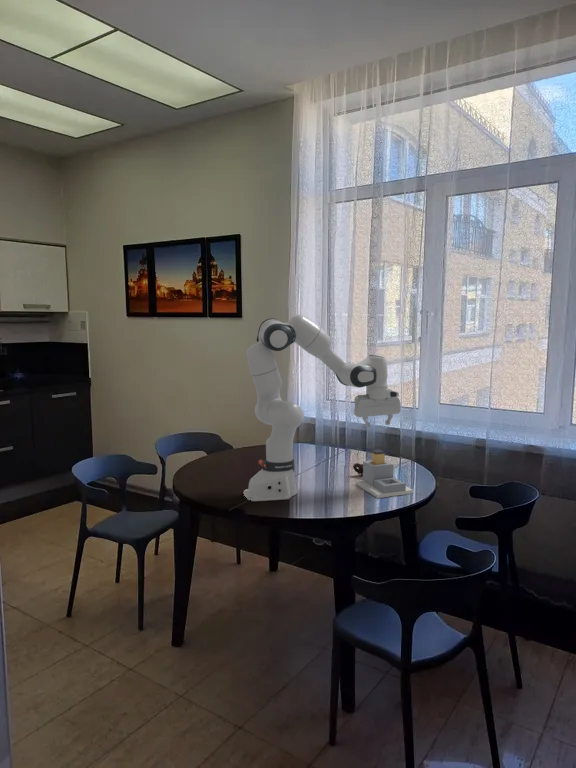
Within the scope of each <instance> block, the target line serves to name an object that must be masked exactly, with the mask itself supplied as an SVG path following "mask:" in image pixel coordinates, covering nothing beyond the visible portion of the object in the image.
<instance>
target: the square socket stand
mask: <svg viewBox="0 0 576 768" xmlns="http://www.w3.org/2000/svg"><path fill="white" fill-rule="evenodd" d="M362 464H363V474H362V480H361V479H360V480H356V481H355V484H356V486H358V487H360V488H361V489H363V490H364V491H366V493H369V494H370V495H371V496H373V497H375V498H377V499H382V498H389V497H390V496H391V497H398V496H406V495H413V494H414V489H412V488H410V487H408V486H407V485H406V484H407V483H406V482H404V481H401V480H400V479H399V478H396V477H394V476H395V475H394V472H395V471H394V463H392V462H389V461H388V460H386V459H385V464H379V465H374V464H373V463H372V459H371V460H363V461H362Z"/></svg>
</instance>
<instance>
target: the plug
mask: <svg viewBox="0 0 576 768" xmlns="http://www.w3.org/2000/svg"><path fill="white" fill-rule="evenodd" d="M371 460H372V463H373V464H374V465H379V464H385V460H386V459H385V451H383V450H382V449H375V450H371Z"/></svg>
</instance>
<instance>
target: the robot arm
mask: <svg viewBox="0 0 576 768" xmlns="http://www.w3.org/2000/svg"><path fill="white" fill-rule="evenodd" d="M294 343H295V344H296V345H298V346H299V347H300V348H301V349H303V350H304V351H305V352H307V353H308V354H310V355H311V356H313V357H315V358H316V359H318V360H320V361H321V362H323V364H325V365H326V366H327V367H328V368H329V369H331V371H332V372H333V373H334V375H335V377H336V378H337V381H338V382H340V384H342V386H346V387H353V388H360V389H361V388H364V387H365V388H366V393H365V394H358V395H356V396H355V397H354V407H353V408H354V411H353V415H355V417H357V418H362V421H363V422H364V427H366V428H370V427H371V422H369V421H368V417H377V416H378V417H379V416H385V415H386V416H387V418H386V419H385V421H384V422H385V425H386V426H390V425H391V421H392V419H393V415H397V414H398V415H399V414H400V413H401V410H402V408H401V407H402V405H401V399H400V398H399V396H400V394H399V392H398V391H396V390H392V389H390V388H389V386H388V380H387V379H388V364H387V359H386V357H384V356H380V355H375V354H368V355H367V356H366V358H365V359H363V360H361V361H360V362H357V363H354V362H349V361H346V360H344V359H343V358H342V357H340V356H339V355H338V354H337V353H336V352H335V351H334V350H333V349H332V348H331V346H332V338H331V336H330V335H329V334H328V333H327V331H326V330H324V329H323V328H322V327H321V326H319V324H317V323H316V322H315V321H314V320H312V319H310V318H308V317H307V316H305V315H303V314H296V315H294V316H292V317H291V318H290V319H289V320H288V321H287V322H283V321H280V320H278V319H276V318H274V317H273V318H266V319H265V320H263V321H262V322H261V323H260V324H259V328H258V332H257V336H256V342H255V343H253V344H252V345H251V346H249V347H248V348H247V350H246V360H247V365H248V369H249V372H250V375H251V377H252V382H253V384H254V387H255V391H256V399H257V400H256V401H257V403H256V404H255V406H254V416H255V417H256V418H257V420H258V421H260V422H262V423H263V424H265V425H268V426H271V427H272V429H271V433H270V436H269V437H268V438H267V439H266V441H265V456H266V457H265V458H266V459H265V460H263V459H259V460H258V464H259V465H260V466H261V470H259V471H258V472H257V473H256V474H254V476H252V477H251V478H250V479H249V481H248V488H246V489H244V490H243V494H244V495H243V494H242V495H243V497H244V496H245V497H246V498H247V499H246V498H245V497H244V498H245V499H246V500H248V501H250V500H251V501H250V502H266V501H267V502H268V501H278V500H279V501H281V500H290V499H291V498H292V497H293V496H295V495H297V494H298V493H299V491H298V488H297V486H296V484H297V483H296V479H295V474H294V473H295V466H296V465H295V458H294V438H295V434H296V431H297V429H298V427H299V426H301V424H302V423H303V422H304V417H305V416H304V411H303V408H302V407H301V406H300V405H298V404H297V403H295V402H293V401H288V400H283V399H282V397H281V391H280V390H281V389H282V387H283V379H282V377H281V373H280V371H279V367H278V364H277V362H276V361H277V360H276V358H275V352H281V351H284V350H285V349H287V348H288V347H290V345H292V344H294Z"/></svg>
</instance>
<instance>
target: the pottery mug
mask: <svg viewBox="0 0 576 768" xmlns="http://www.w3.org/2000/svg"><path fill="white" fill-rule="evenodd" d="M352 467H353V470H354V472H356V473H357V474H358V476H359V475H360V476H361V475H363V463H362V464H361V463H359V462H358V463H357V462H356V463H354V464H353V466H352Z"/></svg>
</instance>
